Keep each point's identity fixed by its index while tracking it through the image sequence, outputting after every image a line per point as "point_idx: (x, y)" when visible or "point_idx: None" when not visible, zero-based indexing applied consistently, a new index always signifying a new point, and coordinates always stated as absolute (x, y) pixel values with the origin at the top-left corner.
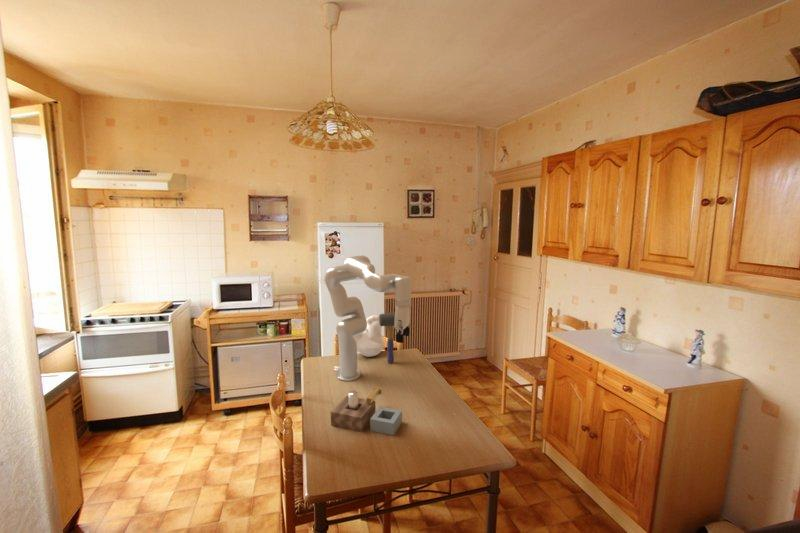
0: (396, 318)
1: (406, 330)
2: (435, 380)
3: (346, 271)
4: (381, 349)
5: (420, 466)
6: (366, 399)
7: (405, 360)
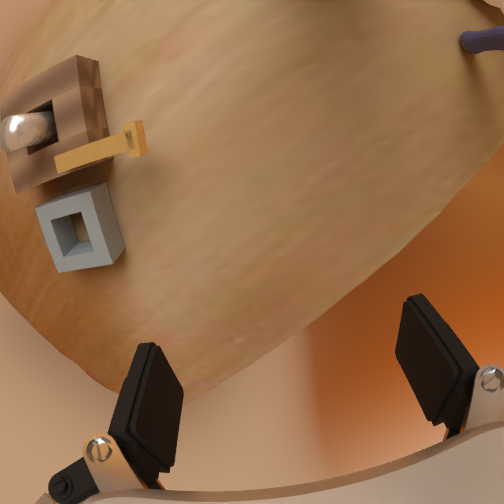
0: None
1: (425, 382)
2: (409, 229)
3: None
4: (497, 6)
5: (54, 332)
6: (86, 130)
7: (493, 89)
